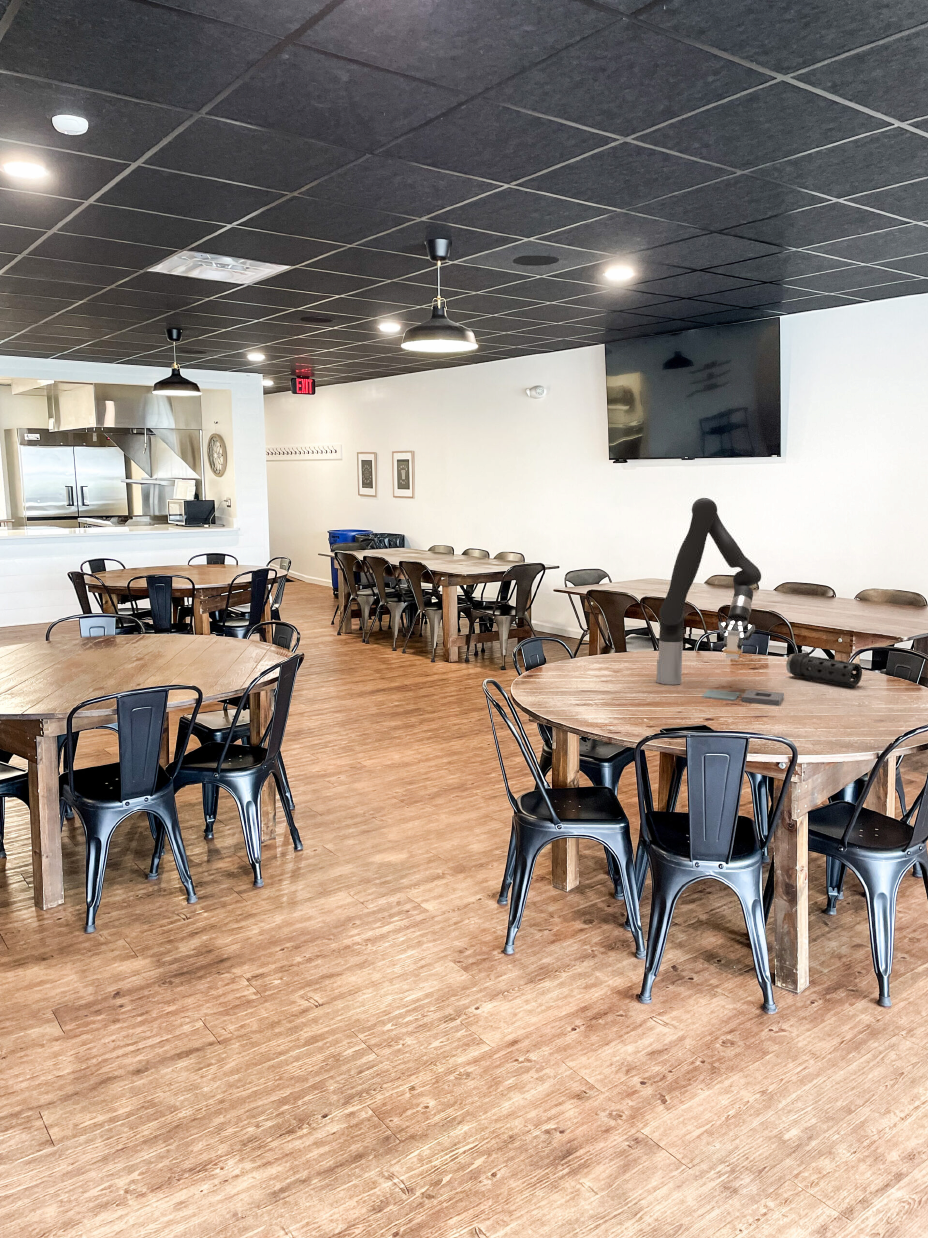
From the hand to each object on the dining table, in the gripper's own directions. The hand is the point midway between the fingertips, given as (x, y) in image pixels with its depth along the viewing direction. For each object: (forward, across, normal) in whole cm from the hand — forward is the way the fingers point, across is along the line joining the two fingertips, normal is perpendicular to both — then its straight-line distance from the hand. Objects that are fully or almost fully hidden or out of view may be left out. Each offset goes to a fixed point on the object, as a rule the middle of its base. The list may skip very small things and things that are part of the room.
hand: (732, 646), depth 321 cm
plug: (+2, 0, +5) cm, 5 cm away
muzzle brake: (-18, +29, +45) cm, 56 cm away
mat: (+12, -3, +15) cm, 20 cm away
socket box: (+12, +12, +15) cm, 23 cm away
